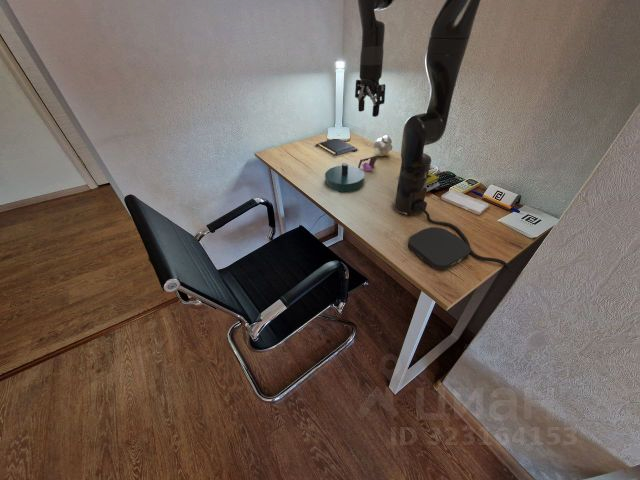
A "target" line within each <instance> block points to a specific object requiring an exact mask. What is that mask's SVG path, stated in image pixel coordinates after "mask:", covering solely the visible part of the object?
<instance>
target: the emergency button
mask: <svg viewBox="0 0 640 480" xmlns="http://www.w3.org/2000/svg"><path fill="white" fill-rule="evenodd" d="M438 180H439V177H438V176H437V175H435V174H433V173H431V172H429V173H428V177H427V181H426V185H425V188H426V189H427V191H426V193H428V192H431V191H432V190H434V189H435V188H438V187H440V185H441V184H440V182H438ZM435 182H437V183H435ZM432 183H435V184H433V187H431V186H429V187H427V185H429V184H432Z"/></svg>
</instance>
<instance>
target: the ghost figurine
mask: <svg viewBox="0 0 640 480" xmlns="http://www.w3.org/2000/svg"><path fill="white" fill-rule="evenodd" d="M392 143H393V141H392V139H391V138H390V136H388V135H383V136H382V137H379V138H377V139H376V140H375V141H374V143H373V144H372V150H373V152H374V154H375V156H377V157H385V156H387V155H388V154H389V153H390V152H391V151H393V145H392Z"/></svg>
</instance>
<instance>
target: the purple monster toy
mask: <svg viewBox="0 0 640 480" xmlns="http://www.w3.org/2000/svg"><path fill="white" fill-rule="evenodd" d="M377 158H378V155H373V156H369V157H366V158H362V159H360V160H359V162H358V166H357V167H358V168H360V169H361V166H362V168H363V171H367V172H373V170H372V167H374V166H375V164H376V161H377ZM368 160H369V162H365V161H368ZM363 162H364V163H363ZM362 163H363V164H362Z"/></svg>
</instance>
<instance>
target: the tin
mask: <svg viewBox="0 0 640 480" xmlns="http://www.w3.org/2000/svg"><path fill="white" fill-rule="evenodd" d="M364 179H365V178H364ZM364 179H363V180H362V181H360V182H358V183H356V184H352V185H337V184H333V183H331V182H329V181H328V180H327V179H326V178H325V184H326V187H328V188H330V189H331V190H333V191H337V192H338V193H342V194H343V193H344V194H345V193H352V192H356V191H358V190H361V188H362V187H363V186H364Z"/></svg>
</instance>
